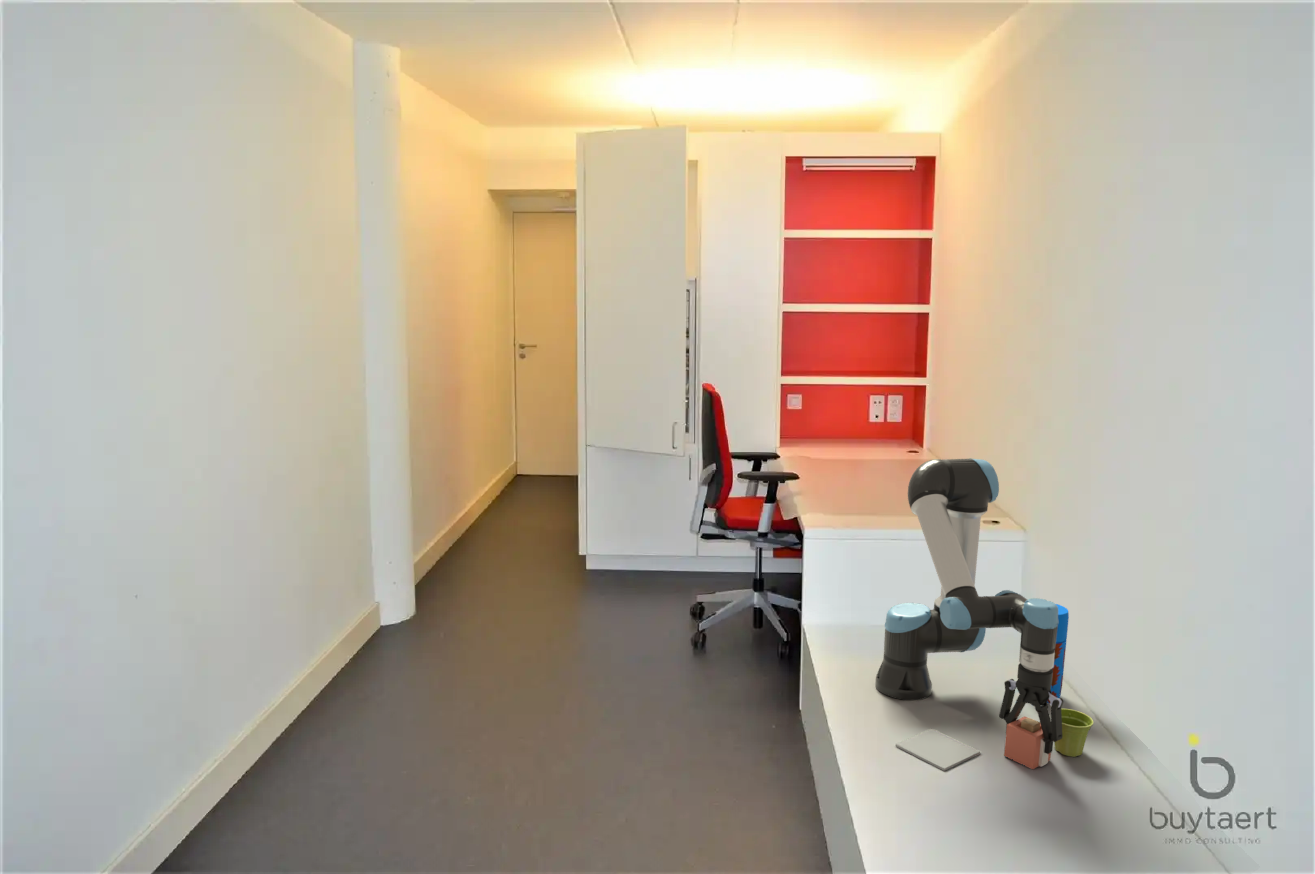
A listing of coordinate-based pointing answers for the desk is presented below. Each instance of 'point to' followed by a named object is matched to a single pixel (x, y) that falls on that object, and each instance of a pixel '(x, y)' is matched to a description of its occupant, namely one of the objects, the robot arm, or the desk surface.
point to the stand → (1030, 725)
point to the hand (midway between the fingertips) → (1027, 756)
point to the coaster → (938, 749)
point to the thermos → (1059, 651)
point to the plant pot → (1073, 732)
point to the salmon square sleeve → (1023, 744)
